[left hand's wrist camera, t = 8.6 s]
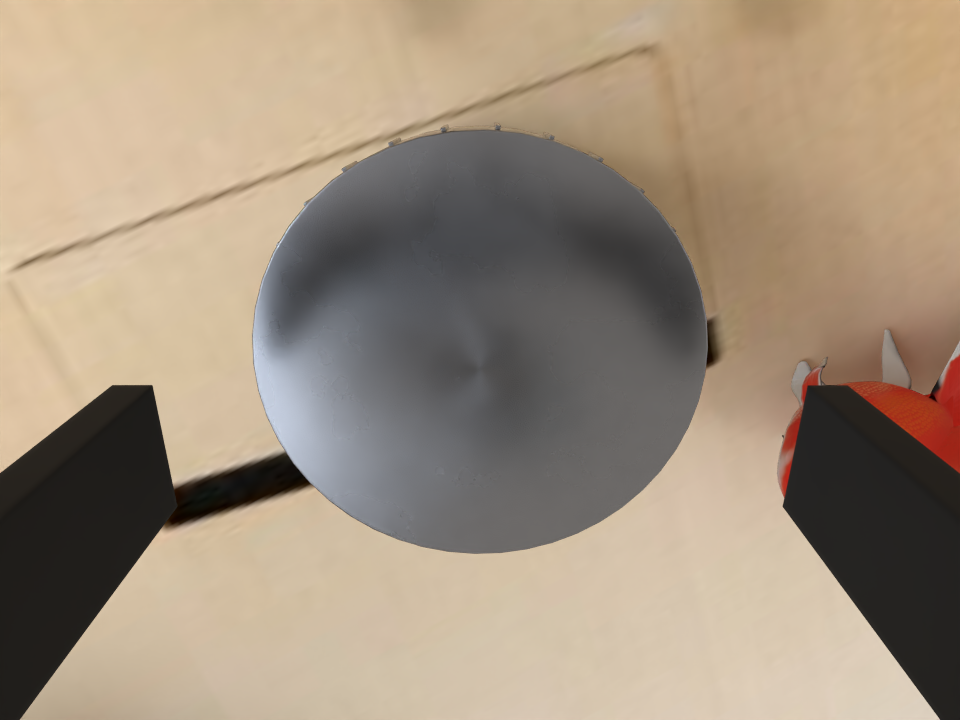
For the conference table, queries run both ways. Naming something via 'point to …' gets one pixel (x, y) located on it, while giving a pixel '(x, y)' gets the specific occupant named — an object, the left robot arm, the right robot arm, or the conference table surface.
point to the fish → (892, 406)
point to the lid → (480, 340)
